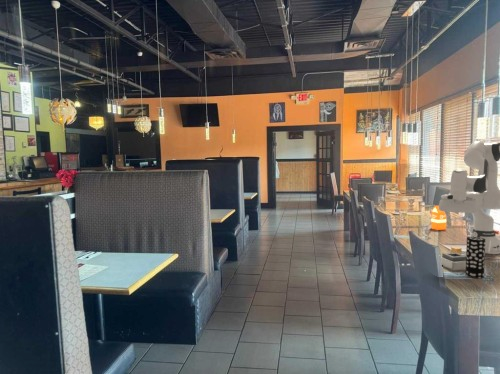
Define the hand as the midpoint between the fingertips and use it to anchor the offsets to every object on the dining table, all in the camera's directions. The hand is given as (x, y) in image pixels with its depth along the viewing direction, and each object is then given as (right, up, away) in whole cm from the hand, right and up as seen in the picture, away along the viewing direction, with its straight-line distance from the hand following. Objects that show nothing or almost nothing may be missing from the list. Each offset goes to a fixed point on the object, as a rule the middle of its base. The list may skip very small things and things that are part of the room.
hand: (456, 219), depth 224 cm
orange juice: (+39, -16, +98) cm, 106 cm away
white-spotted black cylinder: (-4, -28, -26) cm, 38 cm away
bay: (-3, -26, -8) cm, 27 cm away
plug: (+3, -25, +6) cm, 25 cm away
